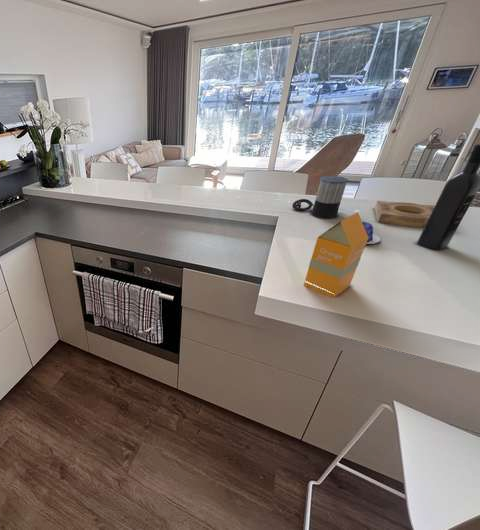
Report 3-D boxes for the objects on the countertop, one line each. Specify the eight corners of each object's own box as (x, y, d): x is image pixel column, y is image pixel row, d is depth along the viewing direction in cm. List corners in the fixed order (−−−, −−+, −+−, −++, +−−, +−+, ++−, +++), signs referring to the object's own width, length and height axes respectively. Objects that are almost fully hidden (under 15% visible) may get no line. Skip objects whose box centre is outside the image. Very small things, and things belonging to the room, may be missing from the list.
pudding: (332, 229, 106) (336, 216, 103) (372, 232, 102) (377, 218, 99) (340, 244, 97) (345, 229, 94) (385, 247, 92) (391, 232, 90)
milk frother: (339, 219, 113) (351, 182, 106) (294, 217, 119) (302, 181, 112) (331, 207, 125) (342, 172, 117) (290, 205, 130) (298, 172, 123)
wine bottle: (448, 247, 89) (505, 144, 74) (436, 251, 88) (492, 147, 73) (426, 240, 94) (475, 142, 79) (414, 244, 93) (462, 145, 78)
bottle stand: (433, 213, 111) (437, 204, 109) (445, 230, 99) (450, 220, 97) (374, 208, 120) (377, 200, 118) (378, 222, 108) (381, 214, 106)
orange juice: (350, 285, 77) (377, 215, 67) (333, 298, 73) (360, 225, 63) (319, 274, 83) (340, 207, 73) (302, 285, 79) (322, 216, 69)
